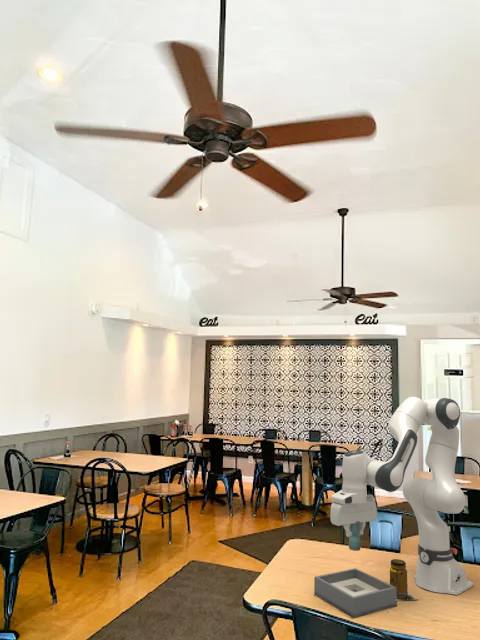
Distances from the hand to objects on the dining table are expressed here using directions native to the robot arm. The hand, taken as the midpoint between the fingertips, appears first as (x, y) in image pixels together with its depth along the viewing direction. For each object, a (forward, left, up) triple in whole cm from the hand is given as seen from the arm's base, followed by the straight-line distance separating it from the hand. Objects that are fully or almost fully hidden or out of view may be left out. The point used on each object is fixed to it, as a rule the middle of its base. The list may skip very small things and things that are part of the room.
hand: (354, 535), depth 171 cm
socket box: (+2, +2, -21) cm, 21 cm away
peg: (0, 0, -5) cm, 5 cm away
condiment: (-16, +7, -21) cm, 27 cm away
